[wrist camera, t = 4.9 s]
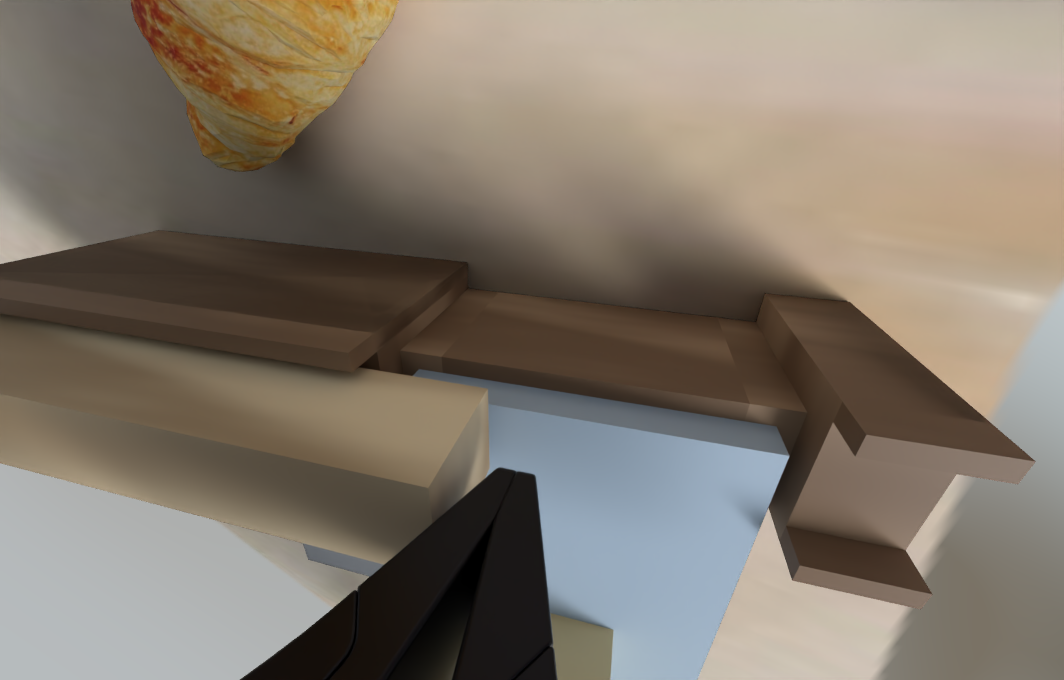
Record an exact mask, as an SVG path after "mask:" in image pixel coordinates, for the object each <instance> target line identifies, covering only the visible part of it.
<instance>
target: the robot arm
mask: <svg viewBox="0 0 1064 680" xmlns="http://www.w3.org/2000/svg"><path fill="white" fill-rule="evenodd" d="M240 680H558V678H557V669H556V660H555V650H554V648H553V633H552V624H551V614H550V605H549V595H548V586H547V576H546V567H545V557H544V548H543V538H542V528H541V519H540V509H539V500H538V490H537V481H536V476H535V475H534V474H531V473H526V472H522V471H515V470H512V469H507V468H502V467H499V468H496V469H495V470H494V471H493V472H492V473H490V474H489V475H488V476H487V477H486V478H485V479H483V480H482V481H481V482H480V483H479V484H478V485H476V486H475V487H474V488H473V489H472V490H471V491H469V492H468V493H467V494H466V495H465V496H464V497H462V498H461V499H460V500H459V501H458V502H457V503H455V504H454V505H453V506H452V507H451V508H450V509H448V510H447V511H446V512H445V513H444V514H443V515H441V516H440V517H439V518H438V519H437V520H436V521H434V522H433V523H432V524H431V525H430V526H429V527H428V528H426V529H425V530H424V531H423V532H422V533H421V534H419V535H418V536H417V537H416V538H415V539H414V540H412V541H411V542H410V543H409V544H408V545H407V546H405V547H404V548H403V549H402V550H401V551H400V552H398V553H397V554H396V555H395V556H394V557H393V558H391V559H390V560H389V561H388V562H387V563H386V564H384V565H383V566H382V567H381V568H380V569H379V570H377V571H376V572H375V573H374V574H373V575H372V576H370V577H369V578H368V579H367V580H366V581H365V582H363V583H362V584H361V585H360V586H359V587H358V592H357V591H356V590H354V591H353V592H351V593H350V594H349V595H348V596H347V597H346V598H345V599H343V600H342V601H341V602H340V603H339V604H338V605H336V606H335V607H334V608H333V609H332V610H330V611H329V612H328V613H327V614H326V615H324V616H323V617H322V618H321V619H319V620H318V621H317V622H316V623H315V624H313V625H312V626H311V627H310V628H308V629H307V630H306V631H305V632H304V633H302V634H301V635H300V636H299V637H297V638H296V639H294V640H293V641H292V642H290V643H289V644H288V645H286V646H285V647H284V648H282V649H281V650H280V651H278V652H277V653H276V654H274V655H273V656H272V657H270V658H269V659H268V660H266V661H265V662H264V663H262V664H261V665H259V666H258V667H257V668H255V669H254V670H253V671H251V672H250V673H249V674H247V675H246V676H244V677H243V678H242V679H240Z"/></svg>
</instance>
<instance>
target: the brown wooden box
mask: <svg viewBox="0 0 1064 680" xmlns="http://www.w3.org/2000/svg"><path fill="white" fill-rule="evenodd" d="M0 313H1V314H7V315H13V316H19V317H25V318H31V319H37V320H43V321H49V322H55V323H61V324H67V325H73V326H78V327H84V328H90V329H96V330H102V331H108V332H114V333H120V334H126V335H132V336H138V337H144V338H150V339H156V340H162V341H168V342H174V343H180V344H186V345H192V346H198V347H203V348H209V349H215V350H221V351H227V352H233V353H239V354H245V355H251V356H257V357H263V358H269V359H275V360H281V361H287V362H293V363H299V364H305V365H311V366H317V367H323V368H328V369H334V370H340V371H346V372H353V371H354V370H356V369H357V368H358V367H360V368H366V369H372V370H378V371H384V372H390V373H396V374H402V375H408V376H413V375H414V374H415V373H416V372H417V371H418V370H419V369H421V370H428V371H434V372H440V373H446V374H453V375H459V376H465V377H471V378H478V379H484V380H490V381H496V382H502V383H509V384H515V385H521V386H527V387H534V388H540V389H546V390H552V391H558V392H565V393H571V394H577V395H583V396H590V397H596V398H602V399H608V400H614V401H621V402H627V403H633V404H639V405H646V406H652V407H658V408H664V409H671V410H677V411H683V412H689V413H695V414H702V415H708V416H714V417H720V418H727V419H733V420H739V421H745V422H751V423H758V424H764V425H770V426H776V427H777V429H778V431H779V433H780V435H781V438H782V440H783V442H784V445H785V447H786V449H787V451H788V454H789V458H788V461H787V463H786V466H785V468H784V471H783V473H782V475H781V478H780V480H779V483H778V485H777V488H776V490H775V492H774V495H773V497H772V500H771V502H770V504H769V510H770V513H771V516H772V519H773V522H774V525H775V529H776V532H777V535H778V538H779V541H780V544H781V547H782V550H783V553H784V556H785V559H786V562H787V566H788V569H789V572H790V575H791V578H792V580H793V581H797V582H802V583H806V584H811V585H815V586H820V587H824V588H828V589H833V590H837V591H842V592H846V593H851V594H855V595H860V596H864V597H868V598H873V599H877V600H882V601H886V602H891V603H895V604H900V605H904V606H908V607H913V608H917V609H922V607H923V606H924V605H925V603H926V602H927V601H928V600H929V598H930V597H931V596H932V593H931V591H930V590H929V588H928V586H927V585H926V583H925V581H924V580H923V578H922V577H921V575H920V573H919V572H918V570H917V568H916V567H915V565H914V563H913V562H912V560H911V559H910V557H909V555H908V554H907V552H906V549H907V547H908V546H909V544H910V543H911V541H912V540H913V538H914V537H915V535H916V534H917V532H918V531H919V529H920V528H921V526H922V525H923V523H924V522H925V520H926V519H927V517H928V516H929V514H930V513H931V511H932V510H933V508H934V507H935V505H936V504H937V503H938V501H939V500H940V498H941V497H942V495H943V494H944V492H945V491H946V489H947V488H948V486H949V485H950V483H951V482H952V480H953V479H954V477H955V476H956V474H959V475H965V476H971V477H977V478H983V479H989V480H995V481H1001V482H1008V483H1013V484H1019V482H1020V481H1021V480H1022V479H1023V477H1024V476H1025V475H1026V473H1027V472H1028V471H1029V470H1030V468H1031V467H1032V466H1033V464H1034V463H1035V461H1034V460H1033V459H1032V458H1031V457H1030V456H1029V455H1027V454H1026V453H1025V452H1024V451H1023V450H1022V449H1020V448H1019V447H1018V446H1017V445H1016V444H1015V443H1013V442H1012V441H1011V440H1010V439H1009V438H1008V437H1006V436H1005V435H1004V434H1003V433H1002V432H1000V431H999V430H998V429H997V428H996V427H995V426H994V425H992V424H991V423H990V422H989V421H988V420H987V419H986V418H984V417H983V416H982V415H981V414H980V413H979V412H977V411H976V410H975V409H974V408H973V407H972V406H970V405H969V404H968V403H967V402H966V401H965V400H963V399H962V398H961V397H960V396H959V395H958V394H956V393H955V392H954V391H953V390H952V389H951V388H949V387H948V386H947V385H946V384H945V383H944V382H942V381H941V380H940V379H939V378H938V377H937V376H935V375H934V374H933V373H932V372H931V371H930V370H928V369H927V368H926V367H925V366H924V365H923V364H921V363H920V362H919V361H918V360H917V359H916V358H914V357H913V356H912V355H911V354H910V353H909V352H907V351H906V350H905V349H904V348H903V347H902V346H900V345H899V344H898V343H897V342H896V341H895V340H893V339H892V338H891V337H890V336H889V335H888V334H886V333H885V332H884V331H883V330H882V329H881V328H879V327H878V326H877V325H876V324H875V323H874V322H872V321H871V320H870V319H869V318H868V317H867V316H865V315H864V314H863V313H862V312H861V311H860V310H858V309H857V308H856V307H855V306H854V305H853V304H851V303H850V302H843V301H833V300H823V299H814V298H804V297H794V296H785V295H775V294H766V293H765V295H764V298H763V301H762V305H761V308H760V311H759V315H758V318H757V321H756V322H751V321H742V320H734V319H725V318H717V317H708V316H699V315H691V314H682V313H674V312H665V311H657V310H648V309H640V308H631V307H622V306H614V305H605V304H597V303H588V302H580V301H571V300H563V299H554V298H545V297H537V296H528V295H520V294H511V293H503V292H494V291H485V290H477V289H468V274H467V262H458V261H448V260H439V259H429V258H420V257H410V256H400V255H391V254H381V253H371V252H362V251H352V250H343V249H333V248H323V247H314V246H304V245H295V244H285V243H275V242H266V241H256V240H246V239H237V238H227V237H218V236H208V235H198V234H189V233H179V232H170V231H160V230H158V231H154V232H149V233H144V234H140V235H135V236H130V237H126V238H121V239H116V240H111V241H107V242H102V243H97V244H93V245H88V246H83V247H79V248H74V249H69V250H65V251H60V252H55V253H51V254H46V255H41V256H36V257H32V258H27V259H22V260H18V261H13V262H8V263H4V264H0ZM767 510H768V509H767ZM765 515H766V514H765ZM762 522H763V521H762ZM760 527H761V526H760ZM757 534H758V533H757ZM755 539H756V538H755ZM753 544H754V543H753ZM750 551H751V550H750ZM748 556H749V555H748ZM743 568H744V567H743ZM741 573H742V572H741ZM738 580H739V579H738ZM736 585H737V584H736ZM731 597H732V596H731ZM729 602H730V601H729ZM724 614H725V613H724ZM722 619H723V618H722ZM719 626H720V625H719ZM717 631H718V630H717ZM712 643H713V642H712ZM710 648H711V647H710ZM707 655H708V654H707ZM705 660H706V659H705ZM700 672H701V671H700ZM698 677H699V676H698Z"/></svg>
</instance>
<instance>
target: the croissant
mask: <svg viewBox="0 0 1064 680" xmlns="http://www.w3.org/2000/svg"><path fill="white" fill-rule="evenodd" d="M398 1H399V0H131V6H132V10H133V14H134V18H135V21H136V23H137V25H138V27H139V29H140V31H141V32H142V34H143V36H144V37H145V38H146V39H147V40H148V42H149V44H150V46H151V48H152V50H153V52H154V54H155V56H156V58H157V60H158V61H159V63H160V64H161V66H162V67H163V69H164V70H165V71H166V73H167V74H168V76H169V77H170V79H171V80H172V82H173V83H174V84H175V86H176V87H177V89H178V90H179V91H180V92H181V93H182V94H183V95H184V96H185V98H186V103H187V115H188V118H189V121H190V123H191V126H192V129H193V132H194V134H195V137H196V139H197V141H198V144H199V146H200V148H201V151H202V154H203V156H205V157H206V158H208V159H210V160H211V161H212V162H213V163H214V164H215V165H216V166H217V167H221V168H225V169H229V170H232V171H238V172H245V171H253V170H259V169H260V168H262V167H264V166H266V165H268V164H270V163H272V162H275V161H277V160H278V159H279V158H280V157H281V156H282V152H284V151H285V150H287V149H288V148H290V147H291V146H292V145H293V144H294V143H295V137H296V136H297V135H298V134H299V133H300V132H301V131H302V130H303V129H304V128H305V127H306V126H307V125H308V124H310V123H311V122H312V121H313V120H314V119H315V118H316V117H317V116H318V115H319V114H321V113H322V112H324V111H325V110H326V109H328V108H329V107H330V106H331V105H333V104H334V103H335V101H336V100H337V99H338V97H339V96H340V95H341V93H342V92H343V91H344V89H345V88H346V86H347V85H348V83H349V82H350V80H351V78H352V74H353V73H354V72H355V71H356V70H357V69H358V68H360V67H361V66H362V65H363V64H364V62H365V60H366V57H367V55H368V53H369V51H370V50H371V49H372V47H373V46H374V45H375V43H376V42H377V41H378V40H379V39H380V37H381V36H382V34H383V33H384V31H385V30H386V28H387V27H388V25H389V24H390V23H391V21H392V19H393V16H394V12H395V9H396V6H397V3H398Z"/></svg>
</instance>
